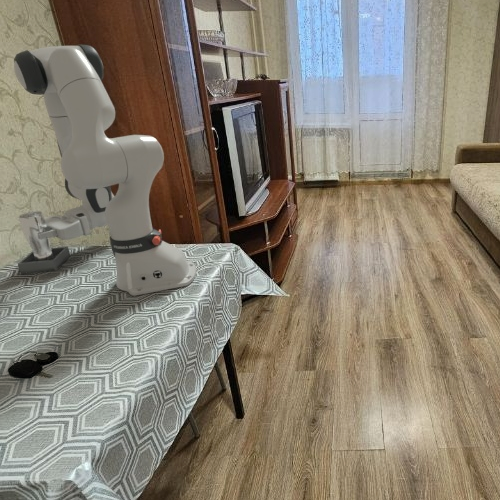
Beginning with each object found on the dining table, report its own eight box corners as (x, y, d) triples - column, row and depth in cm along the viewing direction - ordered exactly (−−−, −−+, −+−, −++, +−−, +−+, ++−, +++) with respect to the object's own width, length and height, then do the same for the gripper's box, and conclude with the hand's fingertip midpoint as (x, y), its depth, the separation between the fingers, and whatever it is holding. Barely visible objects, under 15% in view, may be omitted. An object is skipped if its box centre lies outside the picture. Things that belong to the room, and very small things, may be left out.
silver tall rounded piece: (42, 253, 126) (27, 211, 120) (61, 253, 125) (47, 210, 119) (28, 263, 120) (12, 218, 114) (48, 262, 119) (33, 218, 113)
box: (70, 255, 129) (67, 246, 127) (57, 270, 118) (53, 260, 117) (37, 259, 128) (34, 249, 127) (21, 274, 118) (17, 264, 117)
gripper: (60, 208, 133) (18, 220, 124) (87, 216, 120) (43, 230, 111) (65, 225, 135) (25, 237, 126) (92, 235, 122) (49, 250, 113)
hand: (33, 234), depth 118 cm, fingers closed on silver tall rounded piece, 6 cm apart
